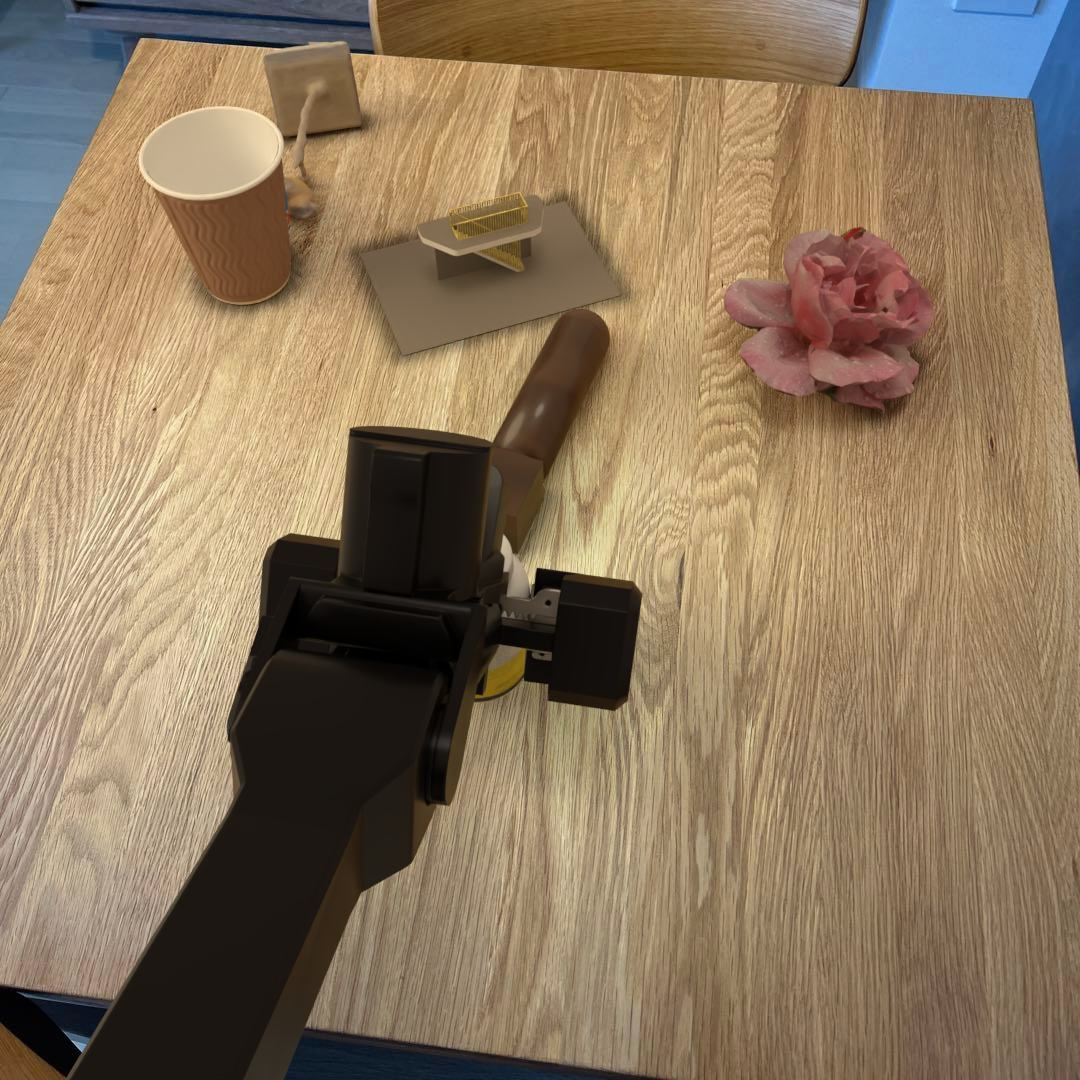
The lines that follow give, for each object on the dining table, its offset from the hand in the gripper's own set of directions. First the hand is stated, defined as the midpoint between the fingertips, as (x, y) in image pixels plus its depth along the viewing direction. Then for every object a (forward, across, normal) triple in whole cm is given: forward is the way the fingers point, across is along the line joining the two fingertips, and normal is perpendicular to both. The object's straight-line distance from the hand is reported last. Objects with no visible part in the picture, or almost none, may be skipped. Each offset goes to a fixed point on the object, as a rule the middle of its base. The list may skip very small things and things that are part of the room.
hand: (478, 584), depth 65 cm
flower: (+26, -20, -14) cm, 36 cm away
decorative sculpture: (+37, +26, -25) cm, 52 cm away
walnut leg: (+19, -1, -7) cm, 20 cm away
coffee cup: (+28, +26, -16) cm, 41 cm away
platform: (+30, +6, -18) cm, 36 cm away
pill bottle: (+4, 0, +6) cm, 7 cm away
